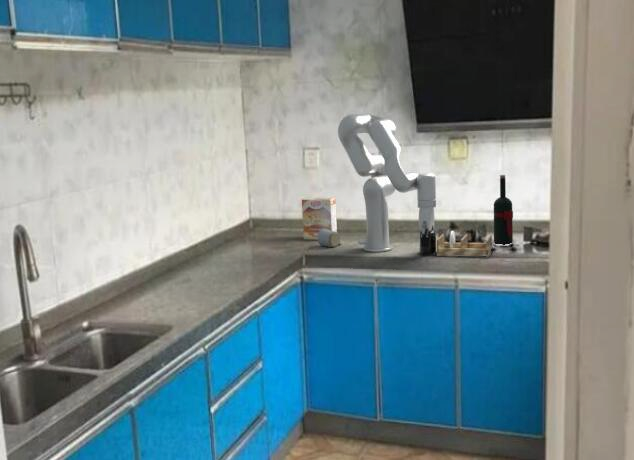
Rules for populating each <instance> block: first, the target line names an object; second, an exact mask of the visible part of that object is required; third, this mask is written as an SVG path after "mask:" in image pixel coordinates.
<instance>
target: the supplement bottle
mask: <svg viewBox="0 0 634 460" xmlns="http://www.w3.org/2000/svg"><path fill="white" fill-rule="evenodd" d="M434 228H435V227H434ZM434 228H433V225H432V230H431V231H430V232H429V234H428V237H429V247H422V246H421V232H422V231H421V232H420V231H419V235H418V236H419V253H420V254H421V255H425V254H430V255H434V254H433V253H435V254H437V233H436V230H434V231H433V229H434ZM426 234H427V232H426Z"/></svg>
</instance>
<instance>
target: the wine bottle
mask: <svg viewBox="0 0 634 460" xmlns="http://www.w3.org/2000/svg"><path fill="white" fill-rule="evenodd" d="M499 196H500V197H498V198H496V199H495V201H494V202H493V244H494V243H495V244H503V245H505V244H510V243H512V242H513V241H514V240H513V239H514V238H513V237H514V236H513V235H514V234H513V233H514V231H513V219H514V212H513V211H514V210H513V202H512V200H511V199H510V198H509V197H506V175H505V174H499ZM513 243H514V242H513Z"/></svg>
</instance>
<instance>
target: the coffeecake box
mask: <svg viewBox="0 0 634 460" xmlns="http://www.w3.org/2000/svg"><path fill="white" fill-rule="evenodd" d="M336 204H337V203H336V197H304V198H302V199H301V212H302V214H301V215H302V231H303V232H302V233H303V240H317V241H318V234H319V232H320V231H321V230H323V229H327V230H330V231H334V232H337V233H338V227H337V226H338V225H337V205H336Z"/></svg>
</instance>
